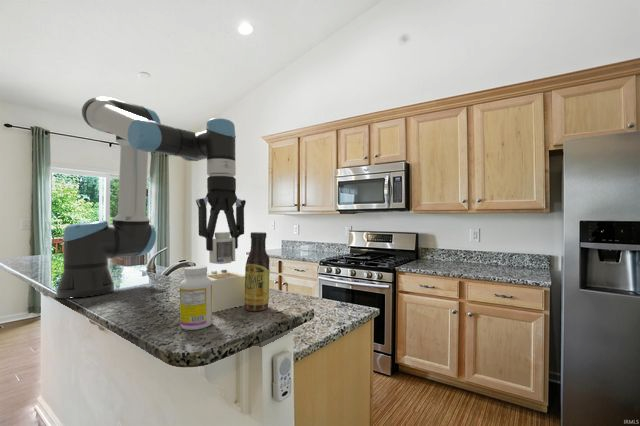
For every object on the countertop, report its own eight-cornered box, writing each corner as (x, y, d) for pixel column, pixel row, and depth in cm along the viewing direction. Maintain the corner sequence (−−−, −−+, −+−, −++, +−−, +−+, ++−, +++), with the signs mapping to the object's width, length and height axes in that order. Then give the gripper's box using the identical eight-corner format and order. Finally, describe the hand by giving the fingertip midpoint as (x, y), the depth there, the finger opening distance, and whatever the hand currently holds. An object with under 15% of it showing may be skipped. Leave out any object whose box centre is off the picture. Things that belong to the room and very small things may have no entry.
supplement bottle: (195, 319, 75) (195, 264, 75) (218, 322, 73) (218, 265, 73) (172, 329, 69) (172, 268, 69) (197, 332, 66) (197, 270, 67)
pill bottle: (235, 262, 89) (235, 231, 89) (223, 264, 85) (223, 232, 85) (221, 261, 91) (221, 231, 91) (209, 263, 87) (209, 232, 87)
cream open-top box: (194, 303, 89) (194, 272, 90) (227, 297, 96) (227, 268, 96) (212, 312, 81) (212, 278, 81) (248, 305, 87) (248, 273, 87)
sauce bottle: (239, 311, 81) (239, 232, 82) (252, 305, 87) (251, 231, 88) (263, 313, 79) (262, 232, 80) (274, 306, 85) (273, 231, 86)
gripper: (194, 172, 80) (195, 266, 79) (257, 177, 92) (258, 259, 91) (183, 175, 85) (184, 264, 85) (243, 180, 97) (244, 257, 97)
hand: (222, 261), depth 88 cm, fingers closed on pill bottle, 5 cm apart
